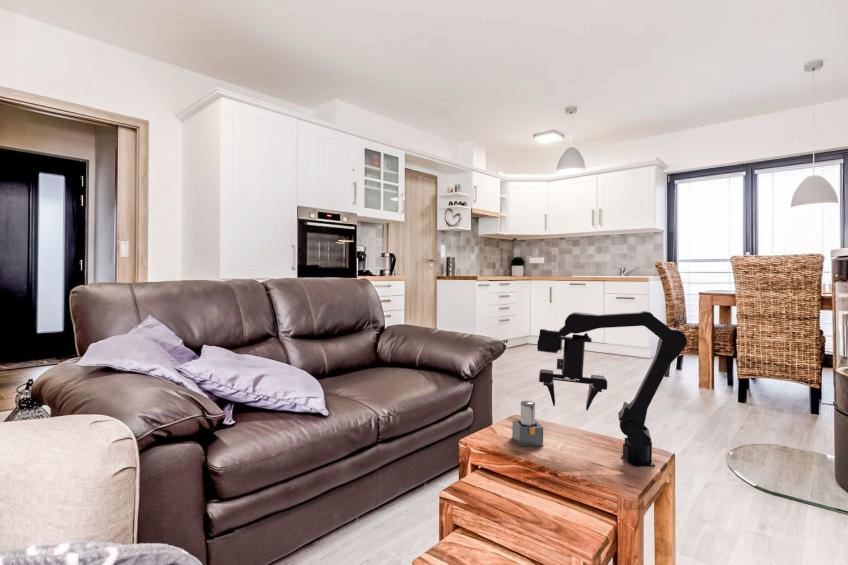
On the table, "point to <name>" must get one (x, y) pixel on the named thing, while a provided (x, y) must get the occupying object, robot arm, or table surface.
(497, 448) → the table surface
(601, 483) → the table surface
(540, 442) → the stand collar
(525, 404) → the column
